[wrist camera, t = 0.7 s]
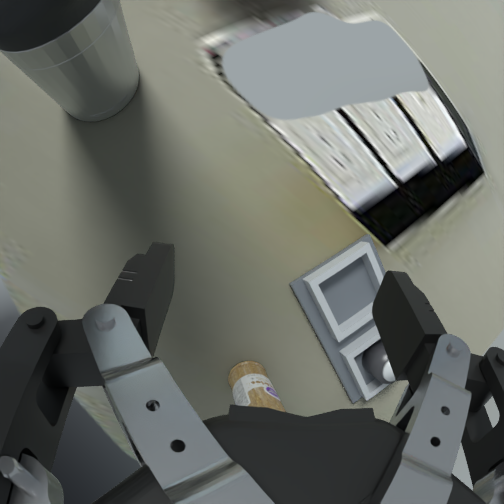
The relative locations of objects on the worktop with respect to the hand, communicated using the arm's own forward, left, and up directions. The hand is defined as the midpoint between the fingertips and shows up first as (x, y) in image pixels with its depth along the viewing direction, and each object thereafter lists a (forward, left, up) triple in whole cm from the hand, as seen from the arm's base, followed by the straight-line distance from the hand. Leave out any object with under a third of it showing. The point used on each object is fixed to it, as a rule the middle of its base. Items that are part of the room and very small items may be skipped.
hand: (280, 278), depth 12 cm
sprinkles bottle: (+15, -5, -23) cm, 28 cm away
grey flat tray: (+18, +10, -22) cm, 30 cm away
